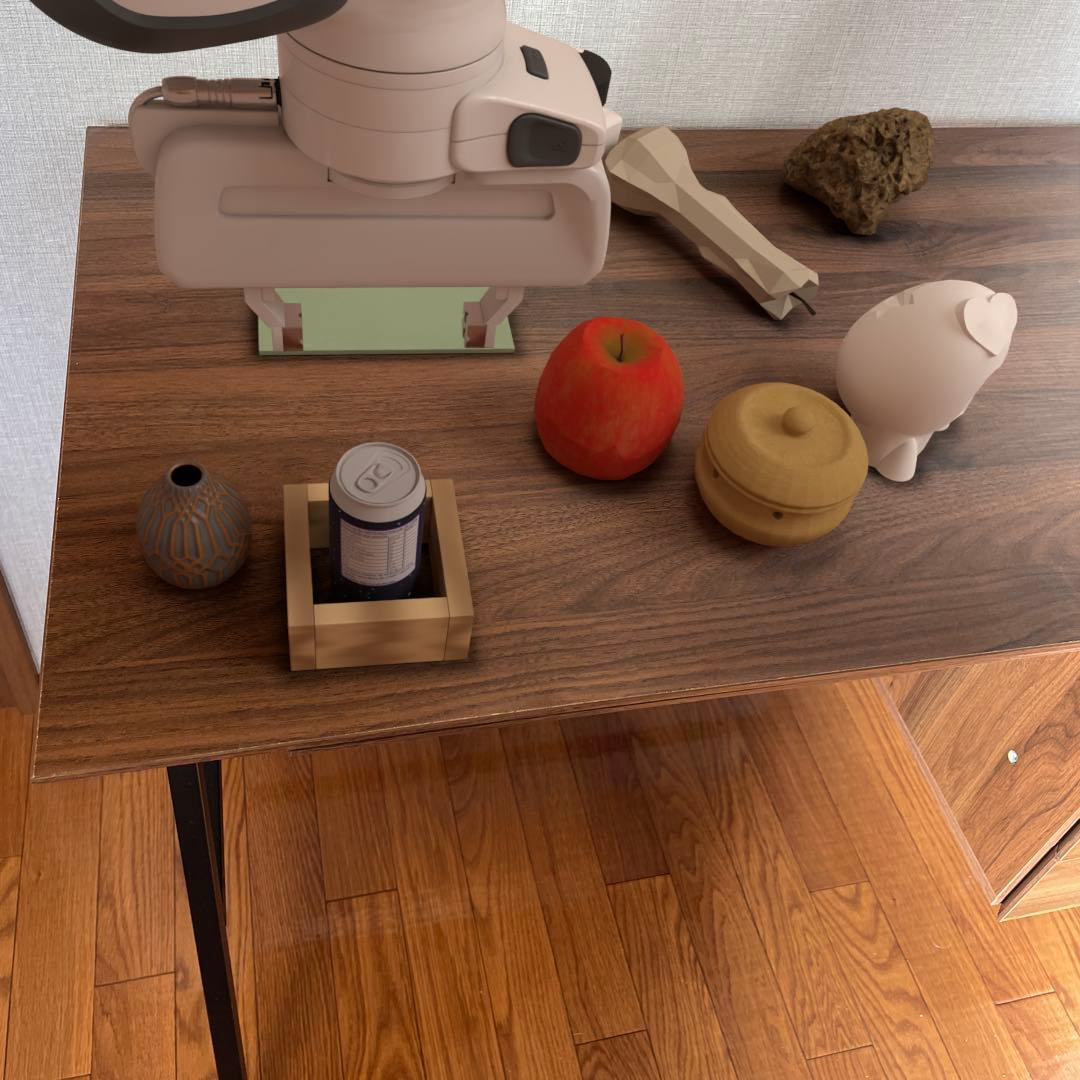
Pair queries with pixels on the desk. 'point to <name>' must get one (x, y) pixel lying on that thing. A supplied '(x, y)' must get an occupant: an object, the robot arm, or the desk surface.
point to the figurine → (920, 365)
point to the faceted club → (704, 219)
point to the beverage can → (375, 524)
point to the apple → (609, 398)
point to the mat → (383, 321)
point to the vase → (193, 526)
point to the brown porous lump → (863, 164)
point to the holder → (376, 625)
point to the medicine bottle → (603, 97)
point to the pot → (780, 463)
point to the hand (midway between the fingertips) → (384, 341)
